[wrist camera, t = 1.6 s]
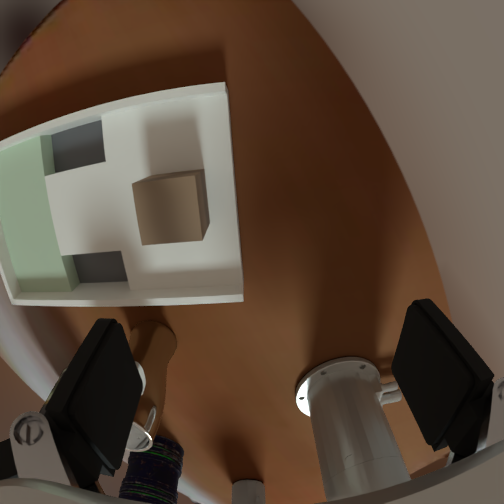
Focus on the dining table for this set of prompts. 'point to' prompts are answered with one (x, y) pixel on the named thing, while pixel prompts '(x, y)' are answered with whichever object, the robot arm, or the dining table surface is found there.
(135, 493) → the storage jar
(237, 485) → the water bottle
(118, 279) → the box
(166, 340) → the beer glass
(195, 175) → the walnut block
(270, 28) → the dining table surface
